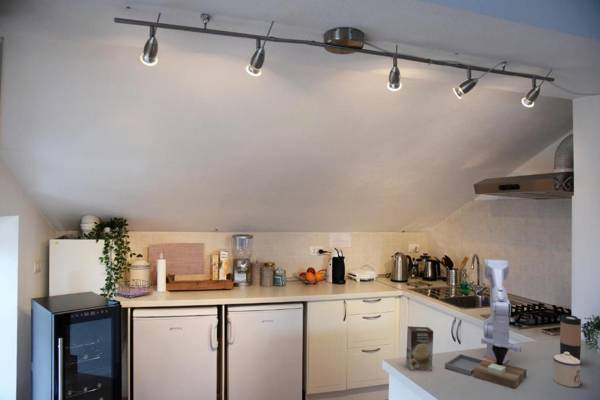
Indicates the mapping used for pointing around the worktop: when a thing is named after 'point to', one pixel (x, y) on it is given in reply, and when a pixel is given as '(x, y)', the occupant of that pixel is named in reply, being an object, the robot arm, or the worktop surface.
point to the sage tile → (496, 369)
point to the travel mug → (570, 335)
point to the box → (463, 364)
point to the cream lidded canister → (566, 370)
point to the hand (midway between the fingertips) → (500, 365)
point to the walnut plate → (508, 379)
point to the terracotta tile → (488, 361)
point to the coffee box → (419, 348)
